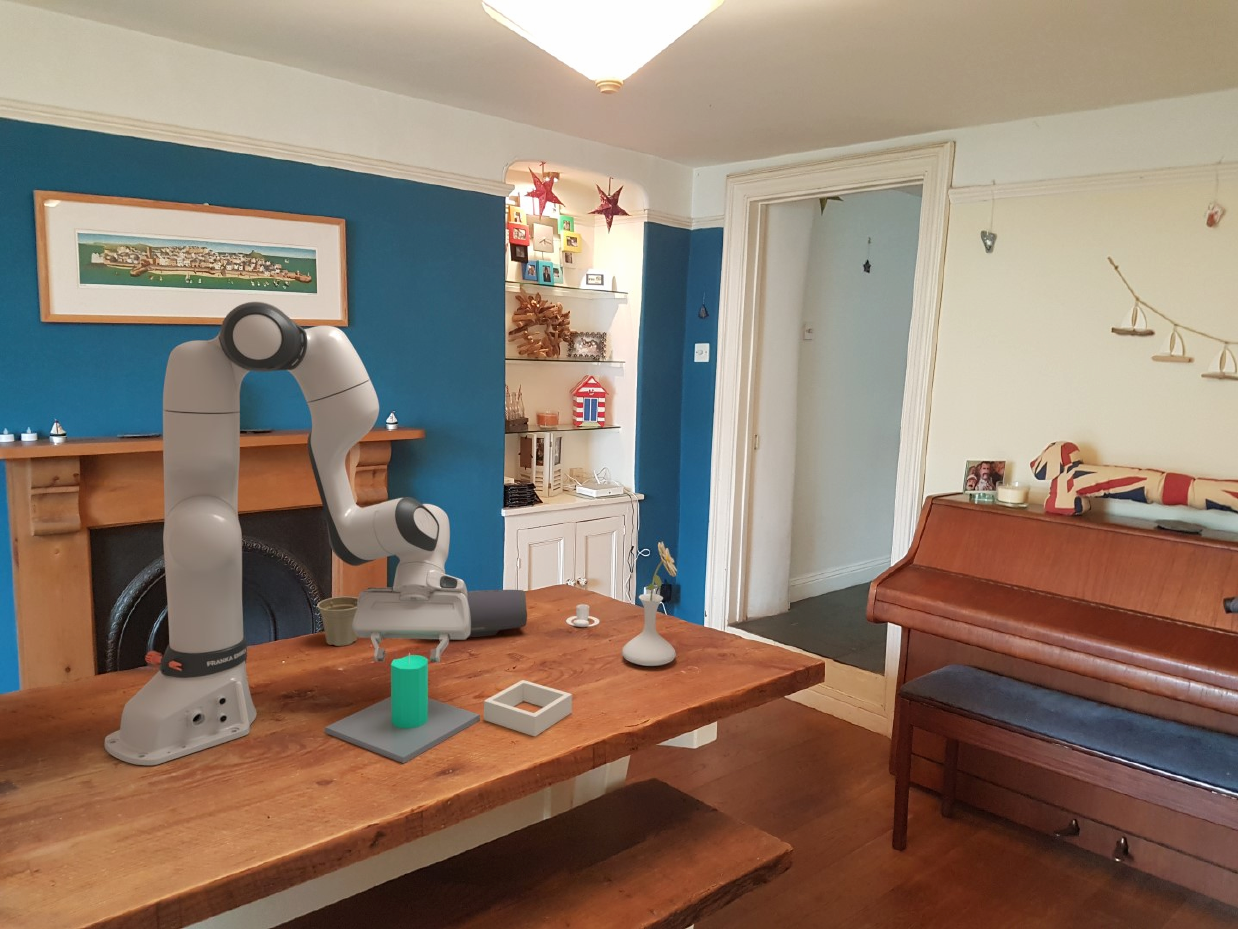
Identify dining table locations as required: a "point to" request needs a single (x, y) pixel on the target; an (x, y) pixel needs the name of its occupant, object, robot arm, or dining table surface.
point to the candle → (409, 691)
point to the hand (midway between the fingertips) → (406, 660)
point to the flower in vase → (652, 625)
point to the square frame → (523, 721)
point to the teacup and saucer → (582, 617)
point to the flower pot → (338, 619)
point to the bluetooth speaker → (496, 611)
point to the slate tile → (401, 729)
